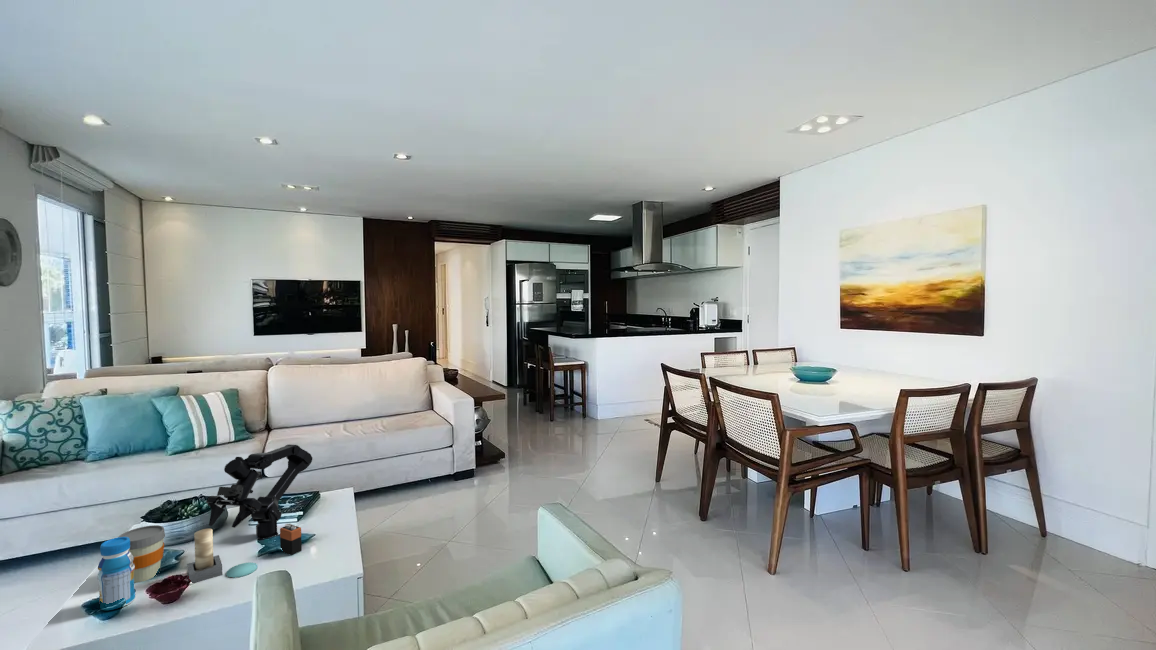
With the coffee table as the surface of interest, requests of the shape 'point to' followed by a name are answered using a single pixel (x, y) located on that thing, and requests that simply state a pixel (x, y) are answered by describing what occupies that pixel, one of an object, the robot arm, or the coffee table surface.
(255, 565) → the mat
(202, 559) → the plug
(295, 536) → the battery
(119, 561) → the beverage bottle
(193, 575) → the socket block
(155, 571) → the reusable coffee cup
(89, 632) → the coffee table surface
